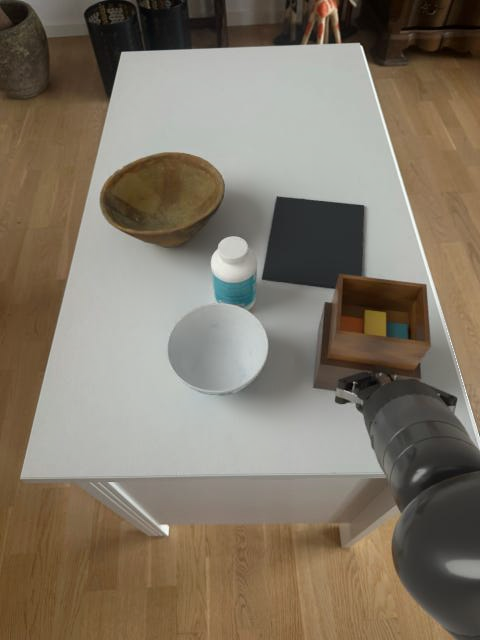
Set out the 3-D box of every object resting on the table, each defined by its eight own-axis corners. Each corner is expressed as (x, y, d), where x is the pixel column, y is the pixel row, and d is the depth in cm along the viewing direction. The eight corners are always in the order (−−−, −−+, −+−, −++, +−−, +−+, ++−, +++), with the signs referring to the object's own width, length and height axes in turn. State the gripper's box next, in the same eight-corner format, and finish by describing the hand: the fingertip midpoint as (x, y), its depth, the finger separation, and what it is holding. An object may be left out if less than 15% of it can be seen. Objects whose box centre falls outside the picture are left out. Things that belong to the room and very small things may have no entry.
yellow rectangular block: (363, 314, 65) (365, 309, 64) (384, 316, 64) (386, 312, 63) (362, 340, 62) (364, 336, 61) (384, 343, 62) (386, 339, 61)
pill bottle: (262, 308, 78) (265, 257, 66) (223, 321, 76) (218, 272, 65) (246, 277, 81) (246, 224, 70) (209, 289, 80) (202, 237, 69)
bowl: (120, 193, 95) (107, 153, 86) (226, 190, 95) (224, 149, 86) (105, 273, 83) (89, 235, 74) (227, 269, 83) (224, 231, 74)
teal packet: (405, 328, 65) (407, 324, 64) (405, 346, 63) (408, 341, 62) (374, 324, 65) (376, 320, 64) (373, 341, 64) (375, 337, 63)
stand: (402, 340, 74) (417, 313, 67) (404, 401, 68) (421, 378, 61) (318, 328, 75) (324, 301, 68) (312, 387, 69) (319, 364, 63)
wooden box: (411, 312, 67) (426, 284, 61) (413, 371, 62) (431, 346, 56) (331, 302, 68) (339, 273, 62) (327, 358, 63) (335, 333, 57)
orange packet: (369, 323, 65) (371, 319, 64) (368, 341, 64) (370, 336, 63) (338, 319, 66) (339, 315, 65) (337, 336, 64) (338, 332, 63)
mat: (363, 207, 91) (364, 205, 90) (361, 292, 79) (361, 290, 79) (276, 198, 93) (276, 196, 92) (261, 279, 81) (261, 277, 81)
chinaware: (210, 431, 66) (206, 413, 59) (156, 362, 72) (147, 338, 66) (286, 374, 71) (289, 351, 64) (228, 314, 77) (226, 287, 71)
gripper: (504, 407, 37) (440, 351, 54) (345, 384, 38) (331, 337, 55) (484, 487, 39) (428, 408, 55) (332, 462, 40) (322, 393, 57)
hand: (380, 373), depth 55 cm, fingers closed
